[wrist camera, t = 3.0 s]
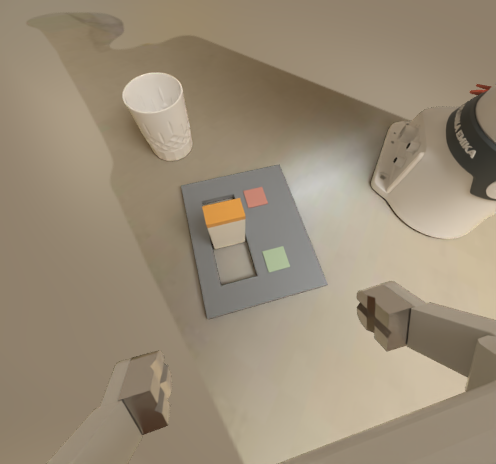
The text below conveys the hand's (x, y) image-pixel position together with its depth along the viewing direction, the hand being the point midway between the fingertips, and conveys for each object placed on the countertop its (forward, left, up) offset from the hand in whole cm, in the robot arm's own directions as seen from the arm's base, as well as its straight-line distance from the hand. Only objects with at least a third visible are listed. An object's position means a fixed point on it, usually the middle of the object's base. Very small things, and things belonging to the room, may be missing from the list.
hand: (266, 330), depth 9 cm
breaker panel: (-13, -4, -22) cm, 25 cm away
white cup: (-25, -20, -22) cm, 39 cm away
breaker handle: (-11, -6, -22) cm, 25 cm away
